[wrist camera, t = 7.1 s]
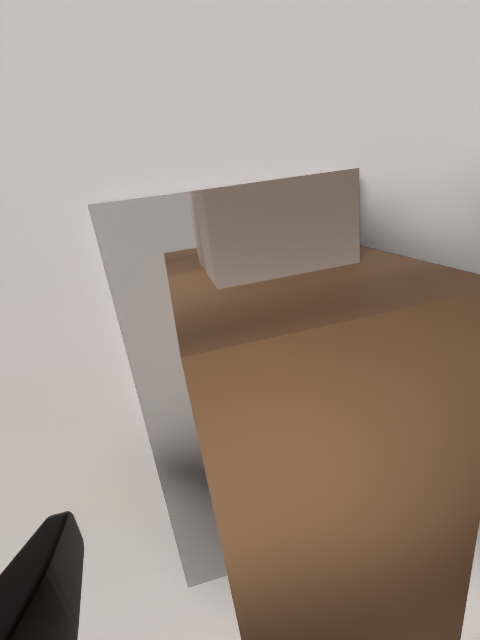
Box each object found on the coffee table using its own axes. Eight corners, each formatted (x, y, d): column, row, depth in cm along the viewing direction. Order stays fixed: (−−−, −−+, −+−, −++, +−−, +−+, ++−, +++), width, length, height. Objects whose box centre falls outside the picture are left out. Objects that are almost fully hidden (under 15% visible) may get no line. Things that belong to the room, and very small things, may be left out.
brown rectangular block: (318, 528, 12) (438, 771, 7) (227, 557, 11) (285, 844, 6) (294, 176, 8) (539, 142, 3) (151, 196, 7) (145, 198, 2)
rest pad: (346, 519, 13) (355, 533, 12) (186, 569, 12) (188, 587, 11) (342, 172, 9) (354, 170, 8) (92, 204, 8) (87, 205, 7)
